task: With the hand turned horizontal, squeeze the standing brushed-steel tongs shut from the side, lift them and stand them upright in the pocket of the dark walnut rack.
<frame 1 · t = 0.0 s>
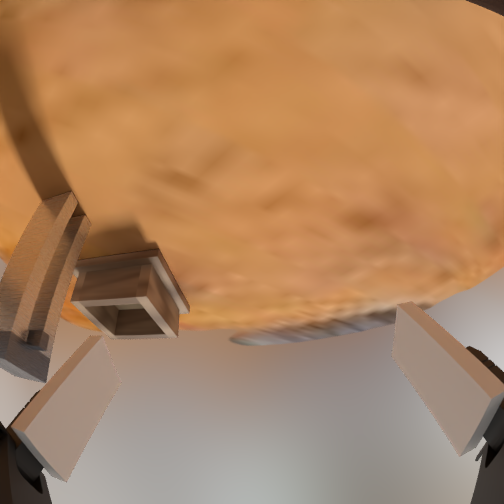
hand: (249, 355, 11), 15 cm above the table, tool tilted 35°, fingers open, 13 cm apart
walnut rack: (131, 286, 33), on the table
steel tongs: (66, 212, 23), on the table
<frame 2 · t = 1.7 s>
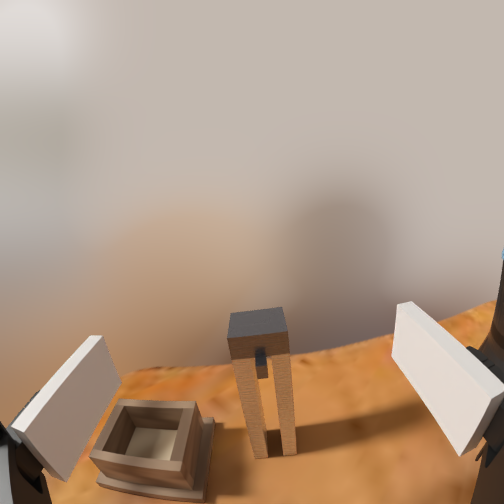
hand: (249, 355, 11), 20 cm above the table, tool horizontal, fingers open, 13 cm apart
walnut rack: (159, 456, 24), on the table
steel tongs: (274, 442, 26), on the table
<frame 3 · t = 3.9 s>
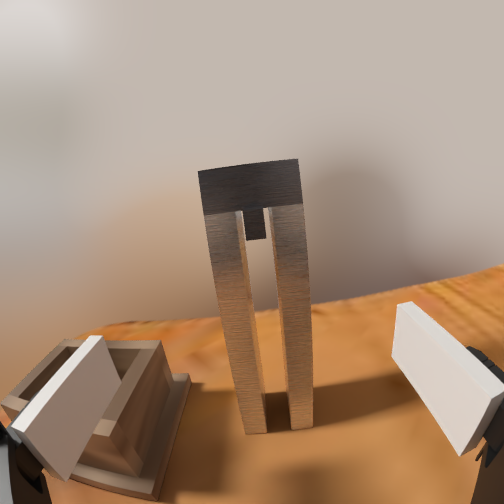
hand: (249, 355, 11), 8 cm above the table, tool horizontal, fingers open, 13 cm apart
walnut rack: (105, 424, 16), on the table
steel tongs: (277, 410, 18), on the table
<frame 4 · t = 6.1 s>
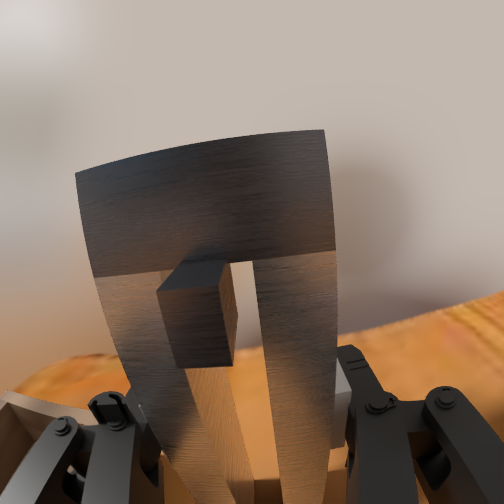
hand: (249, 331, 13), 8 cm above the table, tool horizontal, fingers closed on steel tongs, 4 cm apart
walnut rack: (57, 499, 8), on the table
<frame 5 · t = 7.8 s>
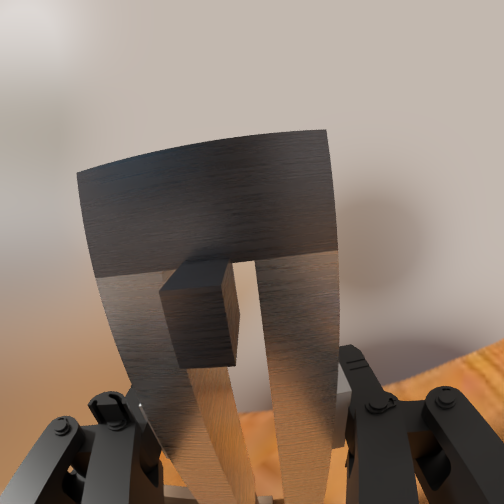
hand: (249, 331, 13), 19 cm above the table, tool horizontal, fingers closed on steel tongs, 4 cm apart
when the fingers open (11 cm above the table, at t = 9.8 s): steel tongs drops 1 cm, resting on walnut rack.
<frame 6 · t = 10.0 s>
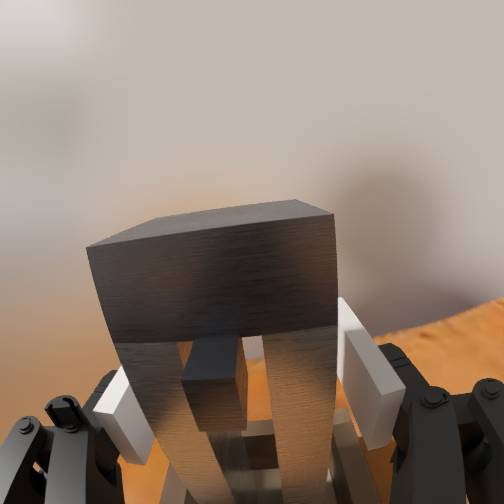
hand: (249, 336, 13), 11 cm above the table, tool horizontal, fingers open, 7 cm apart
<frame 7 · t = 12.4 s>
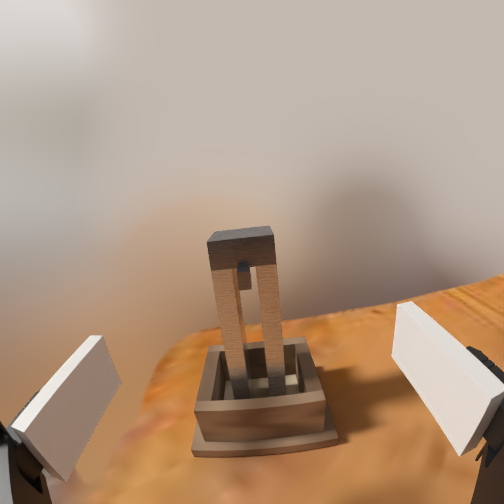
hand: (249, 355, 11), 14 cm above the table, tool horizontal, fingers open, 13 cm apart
walnut rack: (262, 408, 24), on the table
steel tongs: (262, 401, 24), point 1 cm above the table, touching walnut rack
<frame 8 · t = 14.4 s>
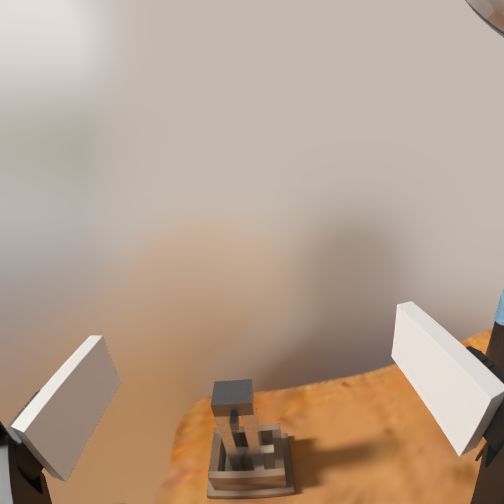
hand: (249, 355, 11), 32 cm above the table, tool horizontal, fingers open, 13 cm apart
walnut rack: (251, 467, 33), on the table
steel tongs: (250, 464, 33), point 1 cm above the table, touching walnut rack
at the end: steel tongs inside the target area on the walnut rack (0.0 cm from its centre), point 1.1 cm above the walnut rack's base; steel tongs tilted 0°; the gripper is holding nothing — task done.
